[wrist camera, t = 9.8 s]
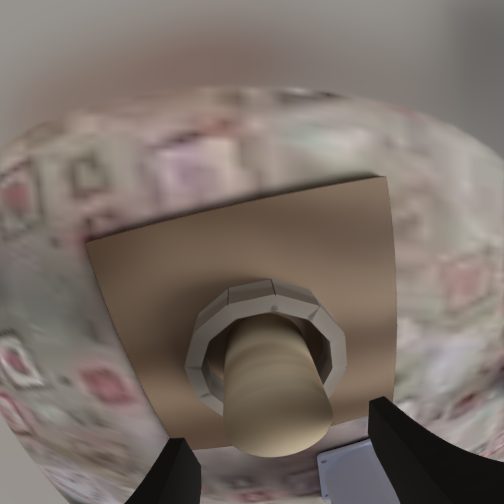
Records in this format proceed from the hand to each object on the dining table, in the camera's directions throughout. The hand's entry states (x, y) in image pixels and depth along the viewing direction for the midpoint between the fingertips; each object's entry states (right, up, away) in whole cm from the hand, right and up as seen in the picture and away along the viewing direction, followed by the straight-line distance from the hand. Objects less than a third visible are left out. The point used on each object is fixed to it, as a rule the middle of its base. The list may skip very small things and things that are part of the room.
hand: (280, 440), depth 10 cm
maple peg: (0, +2, +6) cm, 7 cm away
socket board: (0, +2, +7) cm, 8 cm away
